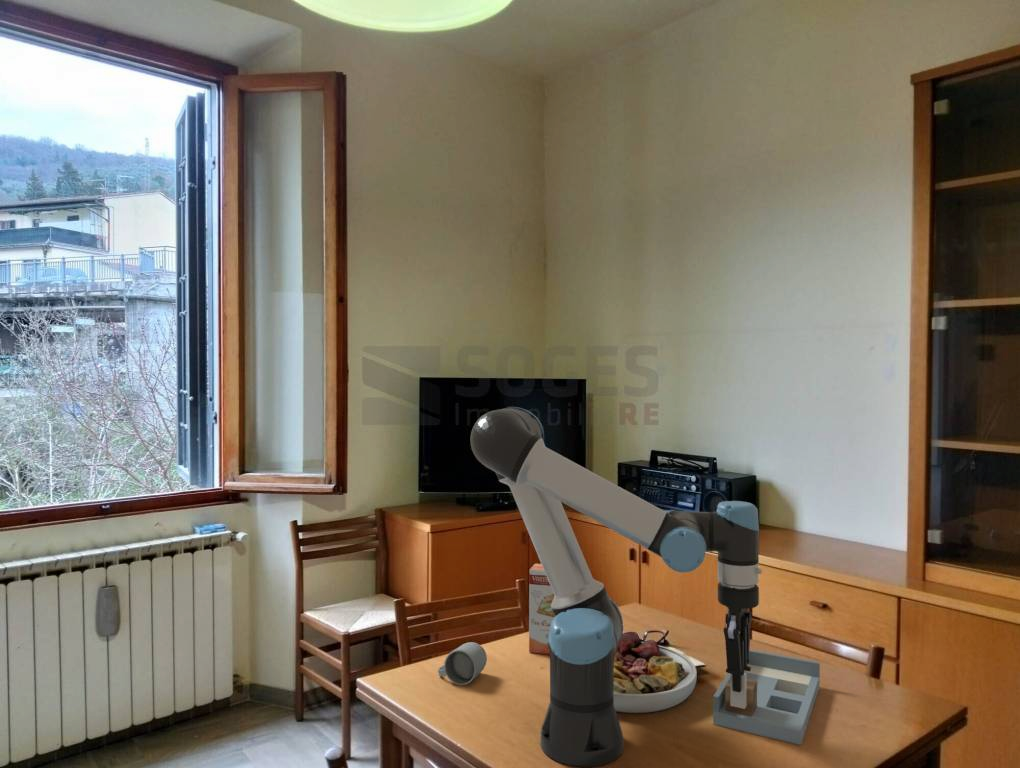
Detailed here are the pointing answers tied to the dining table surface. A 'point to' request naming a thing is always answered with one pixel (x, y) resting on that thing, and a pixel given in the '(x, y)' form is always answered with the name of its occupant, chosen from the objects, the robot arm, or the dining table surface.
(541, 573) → the cracker box
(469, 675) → the ceramic mug
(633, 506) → the robot arm
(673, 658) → the bowl
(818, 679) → the box
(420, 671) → the dining table surface
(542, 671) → the dining table surface
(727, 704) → the block
